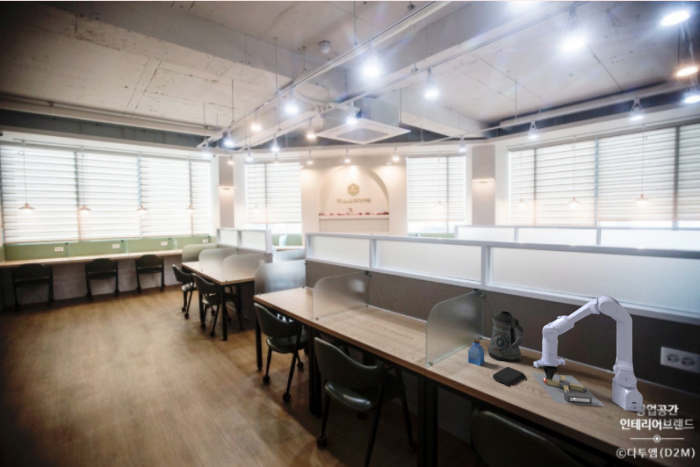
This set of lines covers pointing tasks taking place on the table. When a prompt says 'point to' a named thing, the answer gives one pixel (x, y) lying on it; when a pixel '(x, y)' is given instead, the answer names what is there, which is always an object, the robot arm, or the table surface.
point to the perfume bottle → (476, 353)
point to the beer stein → (506, 338)
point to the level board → (559, 393)
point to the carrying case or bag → (509, 376)
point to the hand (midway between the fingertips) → (549, 380)
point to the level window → (578, 398)
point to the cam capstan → (564, 384)
